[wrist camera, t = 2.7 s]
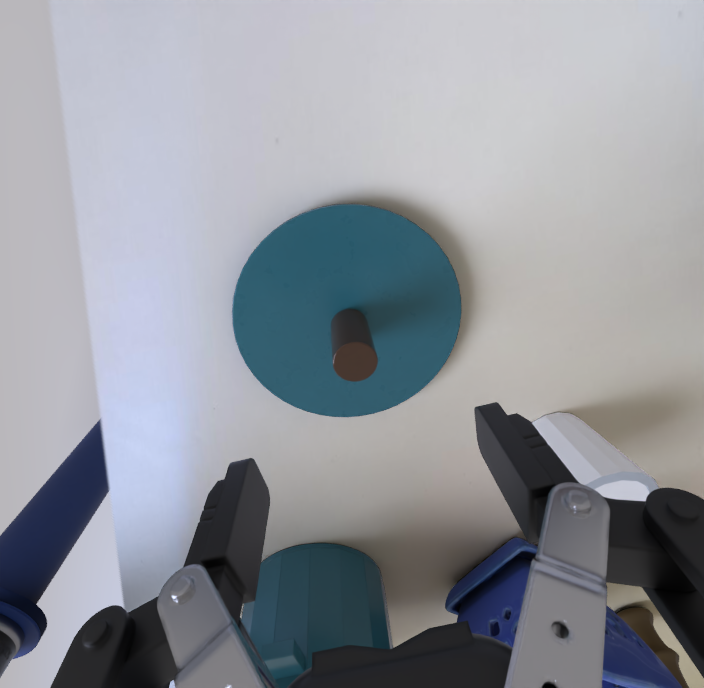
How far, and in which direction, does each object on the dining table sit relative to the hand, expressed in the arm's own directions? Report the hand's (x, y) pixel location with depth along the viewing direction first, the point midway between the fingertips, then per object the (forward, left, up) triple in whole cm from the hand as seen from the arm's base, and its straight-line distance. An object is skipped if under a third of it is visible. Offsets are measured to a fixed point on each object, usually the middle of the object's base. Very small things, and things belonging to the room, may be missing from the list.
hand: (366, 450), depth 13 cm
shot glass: (+14, -15, -13) cm, 24 cm away
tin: (-10, -28, -13) cm, 33 cm away
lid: (0, 0, -12) cm, 12 cm away
